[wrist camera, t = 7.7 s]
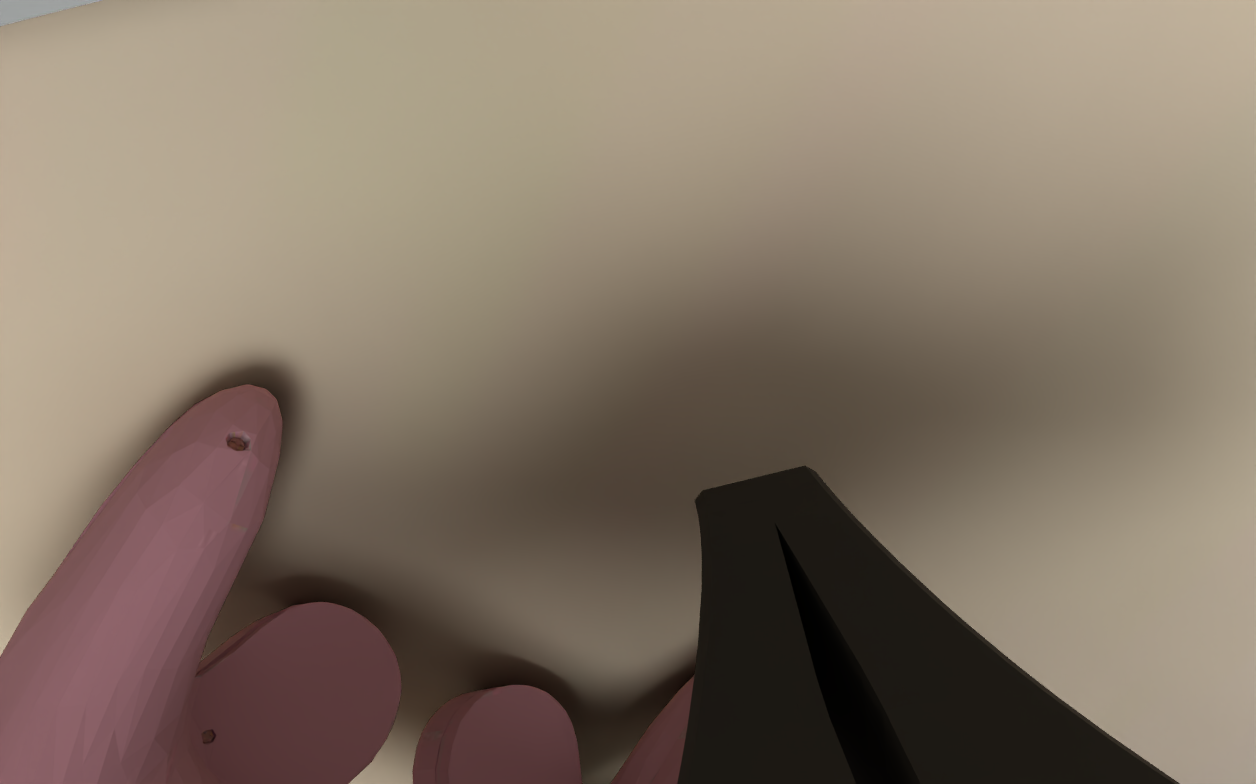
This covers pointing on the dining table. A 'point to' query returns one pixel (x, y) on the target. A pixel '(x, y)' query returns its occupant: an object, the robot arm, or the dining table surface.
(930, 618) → the robot arm
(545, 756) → the video game controller
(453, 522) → the dining table surface
